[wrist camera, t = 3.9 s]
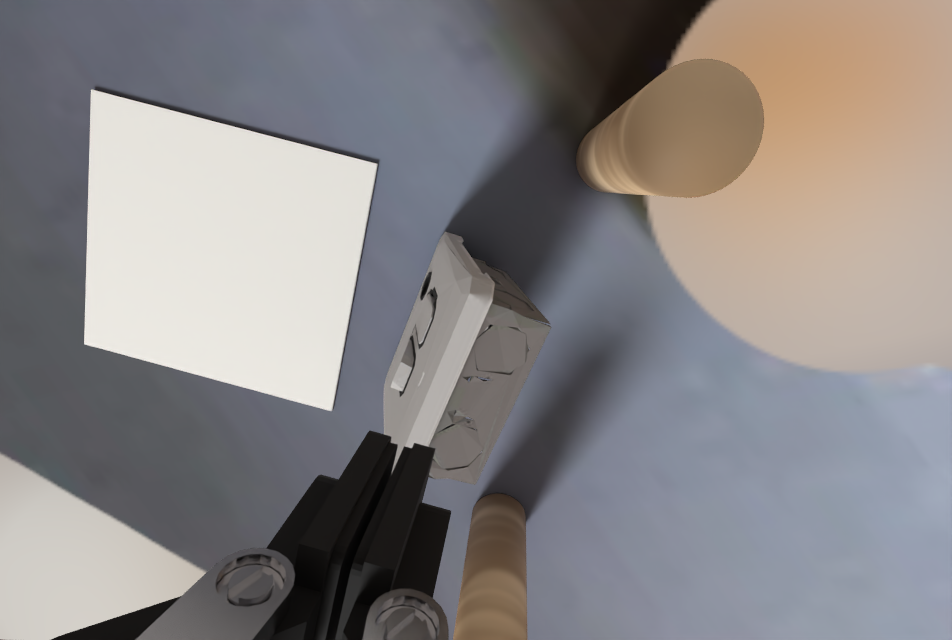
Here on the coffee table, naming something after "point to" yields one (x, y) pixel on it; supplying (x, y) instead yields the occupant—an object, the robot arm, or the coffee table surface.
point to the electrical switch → (460, 362)
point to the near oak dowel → (677, 134)
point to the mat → (222, 249)
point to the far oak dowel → (494, 573)
